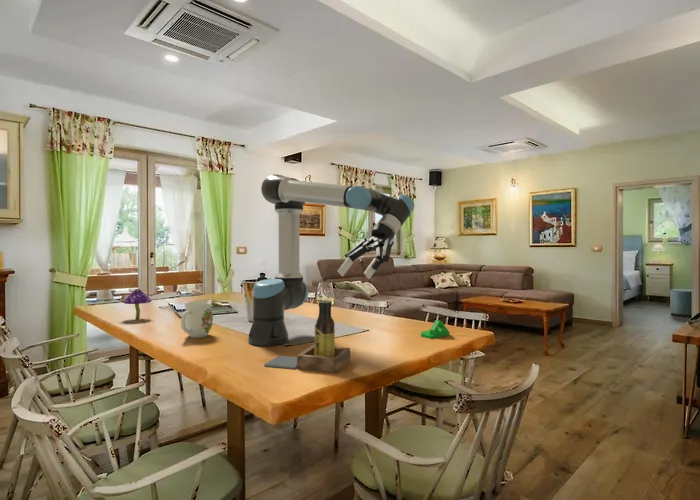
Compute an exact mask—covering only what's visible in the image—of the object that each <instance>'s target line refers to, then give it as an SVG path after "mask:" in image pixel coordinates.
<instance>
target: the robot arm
mask: <svg viewBox="0 0 700 500" xmlns="http://www.w3.org/2000/svg"><path fill="white" fill-rule="evenodd" d="M260 189H261V191H260V192H261V195H262V197H263V198H264V199H265V200H266V202H268V203H271V204H273V205H274V211H275V212H276V213H277V215H278V273H277V274H276V275H275V276H274V278H269V279H261V280H259V281H256V282H255V283H254V284H253V289H252V290H253V291H252V320H253V321H252V323H251V327H250V330H249V332H248V335H247V338H248V340H247V342H248V344H250V345H254V346H258V347H259V346H263V347H268V346H278V345H282V343H283V344H286V343H288V342H289V333H288V330H287V327H286V324H285V311H287V310H294V309H296V308H299V307H300V306H302V305H304V304H305V302H306V301H307V299H308V296H309V289H308V285H307V284H306V282H305V281H304V275H303V274H302V273H301V272H300V215H301V214H302V212H304V205H305V204H306V203H308V204H315V205H316V204H317V205H322V206H323V205H325V206H333V207H340V208H347V209H348V208H349V209H353V210H354V209H356V210H362V211H368V212H372V213H375V214H378V215H380V216H382V217H381V218H380V220H378V222H377V223H376V225H375V226H374V227H373V228H372V230H371V237H370V238H368V239H367V238H366V237H363V238H362V239H361V240H360V242H358V243H356V245H354V246H353V247H352V248H351V249H350V250H349V251H347V252H346V253H345V254H344V257H345V258H346V259H344V261H343V262H342V264H341V265H340V267H339V268H338V269H337V273H338V274H339V275H340V276H341V277H344V276H345V275H346V273H347V272H348V270H350V268H351V266H352V265H353V264H354V261H356V260H357V259H359V258H360V257H362V256H364V255H365V254H367V253H368V254H369V253H371V252H373V251H374V252H376V253H375V254H376V256H375V257H374V258H373V259H372V261H371V262H370V263H369V265H368V266H367V268H366V269H365V270H364V272H363V275H364V276H365V277H366V278H367V280H370V279H371V278H372V276H373V275H374V274H375V272H376V271H377V270H378V269H379V267H380V266H381V265H382V264H384V263H388V262H389V261H390V257H391V252H392V247H393V245H394V244H395V242H394V241H393V239H394V238H395V236H396V234H398V232H399V230H400V229H401V228H402V226H403V225H404V224H405V222H406V221H407V220H408V218H409V217H410V216H411V214H412V212H413V211H414V209H415V202H414V200H413V199H412V198H411V197H409V196H408V195H406V194H399V195H398V196H397V197H396V198H395V197H392V196H389V195H387V194H384V193H382V192H379V191H377V190H375V189H372V188H369V187H368V188H367V187H365V186H361V185H354V186H353V185H342V184H332V183H322V182H313V181H306V180H305V181H304V180H303V181H302V180H299V179H297V178H294V177H289V176H285V175H281V174H271V175H268V176H266V177H265V179H263V181H262V183H261V187H260ZM287 341H288V342H287ZM285 342H286V343H285Z"/></svg>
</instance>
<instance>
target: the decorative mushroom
mask: <svg viewBox="0 0 700 500" xmlns="http://www.w3.org/2000/svg"><path fill="white" fill-rule="evenodd" d="M122 303H123V304H126V305H134V307H135V311H136V312H135V318H134V319H135V320H140V316H141V310H140V304H149V303H152V299H151V298H150V297H149V295H147V294H146V293H145V292H143V291H142V290H141V289H140V288H135V289H134V290H133V291H132V292H131V293H130V294H129V295H127V297H126V298H125V299H124V300H123V302H122Z"/></svg>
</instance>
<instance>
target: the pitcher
mask: <svg viewBox="0 0 700 500" xmlns="http://www.w3.org/2000/svg"><path fill="white" fill-rule="evenodd" d="M212 300H213V299H210V298H209V299H202V300H195V301H190V302H186V303H184V307H185V311H184V312H183V313H182V315H181V317H180V326H181V329H182V331H183V332H184V333H186V334H187V335H188V336H189V338H193V339H194V338H195V339H198V338H199V339H200V338H205V337H208V335H209V333H210V332H211V329H212V327H213V321H214V314H213V311H212V304H213V301H212Z"/></svg>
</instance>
